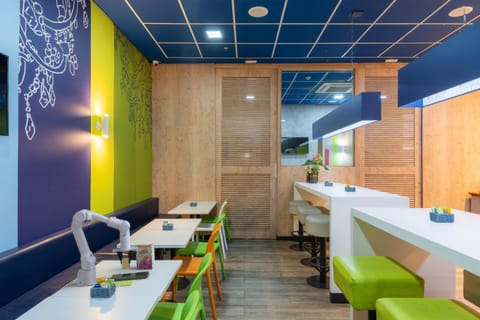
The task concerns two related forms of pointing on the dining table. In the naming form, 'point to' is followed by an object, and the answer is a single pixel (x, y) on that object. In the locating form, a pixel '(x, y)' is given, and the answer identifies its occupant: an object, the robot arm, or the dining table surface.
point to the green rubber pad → (124, 283)
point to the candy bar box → (145, 256)
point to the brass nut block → (125, 263)
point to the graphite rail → (130, 276)
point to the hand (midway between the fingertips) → (125, 263)
